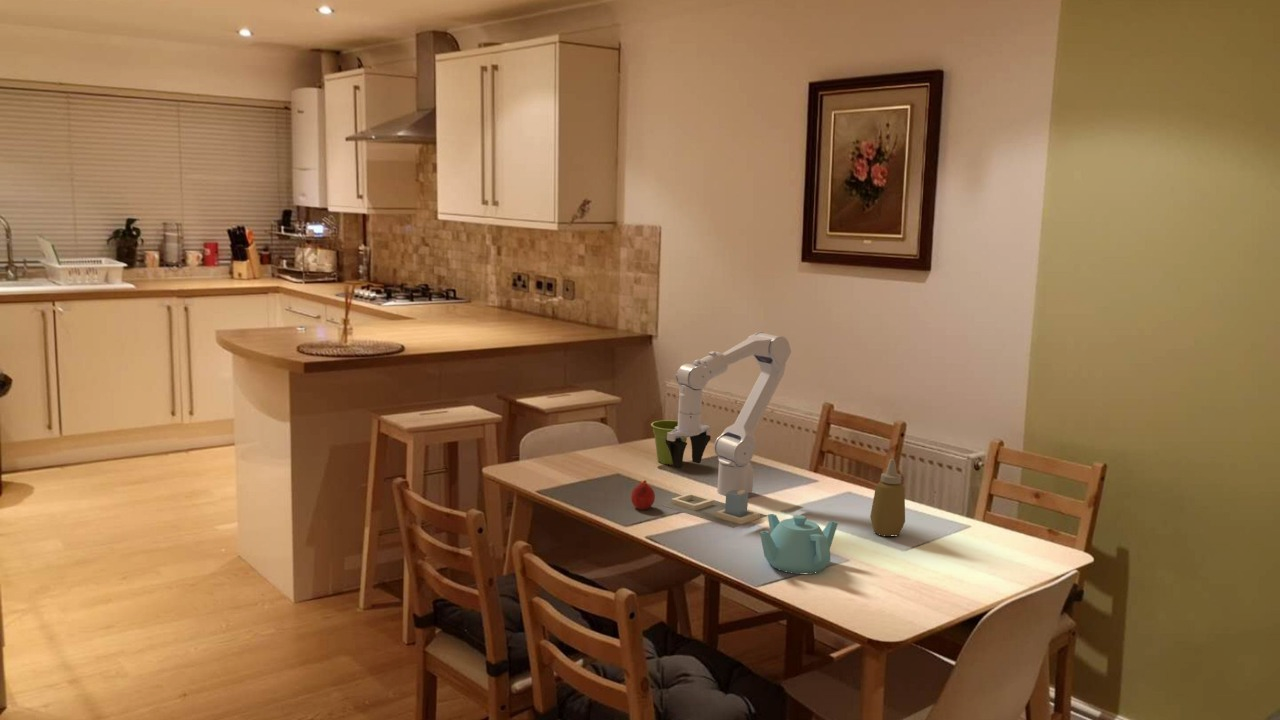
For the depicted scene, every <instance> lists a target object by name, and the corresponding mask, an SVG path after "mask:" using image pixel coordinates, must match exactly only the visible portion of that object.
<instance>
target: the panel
mask: <svg viewBox="0 0 1280 720" xmlns="http://www.w3.org/2000/svg"><path fill="white" fill-rule="evenodd" d="M725 503H726V502H723V501H719V500H715V499H712V498H709V497H705V496H702V495H697V494H694V493H691V492H690V493H687V494H683V495H679V496H677V497H673V498H670V503H667V504H662V507H664V508H668V509H670V510H671V509H672V510H675V511H676V512H677V511H678V512H681V513H684V514H687V515H690V516H693V517H698V518H701V519H703V520H707V521H710V522H714V523H716V524H720V525H724V526H727V527H730V528H733V529H734V528H736V527H739V526H742V525H745V524H748V523H751V522H753V521H756V520H760V519H762V518H765V517H768V514H764V513H760V512H758V511H753V510H750V509H747V516H744V517H741V518H740V517H736V516H733V515H729V514H726V513H725Z"/></svg>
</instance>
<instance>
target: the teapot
mask: <svg viewBox="0 0 1280 720" xmlns="http://www.w3.org/2000/svg"><path fill="white" fill-rule="evenodd" d="M767 515H768V516H767V519H768V525H769V531H768V530H761V531H759V535H760V540H761V546H762V550H763V555H764V558H765V559H766V562H768V564H769V565H770V566H771V565H772V566H773V567H772V566H771V567H772V568H774V567H775V568H777V569H780V570H783V571H787V572H792V573H814V574H816V573H815V572H818V573H820V572H822V571H823V570H824V569H826V567H827V566H829V564H830V562H831V550H830V549H831V547H832V543H833V539H834V536H835V533H836V531H837V527H838V524H839V523H838V521H835V520H831V521H829V520H828V523H827V525H826V526H825V527H824V528H823V530H822V528H821V527H820V525H819V524H818V523H816V522H815V521H813V520H809V519H807V516H805V515H801V514H796V515H795V514H794V515H793V516H792V518H787V519H786V518H785V519H783V520H781V521H780V520H779V517H778V516H777V514H774V513H770V514H767ZM775 568H774V569H775ZM777 569H776V570H777ZM780 570H779V571H780ZM821 570H822V571H821ZM783 571H782V572H783ZM819 571H820V572H819ZM787 572H786V573H787ZM792 573H791V574H792Z"/></svg>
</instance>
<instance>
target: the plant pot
mask: <svg viewBox="0 0 1280 720" xmlns="http://www.w3.org/2000/svg"><path fill="white" fill-rule="evenodd" d="M650 426H651V427H652V431H653V434H654V440H655V450H656V458H657V462H659V463H660V464H662V465H668V464H669V466H670V465H672V466H673V462H672V457H671V453H670V450H669V448H668V446H667V444H666V438H667V433H668V432H671V431H673V430H675V427H677V426H678V420H673V419H672V420H670V419H666V420H664V419H663V420H656V421H653V422H652V423H650ZM681 440H682V442H686V443H687V440H688V437H687V438H682V439H681ZM683 456H684V454H683Z"/></svg>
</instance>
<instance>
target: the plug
mask: <svg viewBox="0 0 1280 720" xmlns="http://www.w3.org/2000/svg"><path fill="white" fill-rule="evenodd" d="M724 503H725V513H726V514H729V515H733V516H736V517H740V518H741V517H744V516H747V510H748V505H749V504H748V503H749V493H748V492H745V490H740V491H738V490H732V491H730V492H728V493H726V496H725V502H724Z"/></svg>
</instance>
